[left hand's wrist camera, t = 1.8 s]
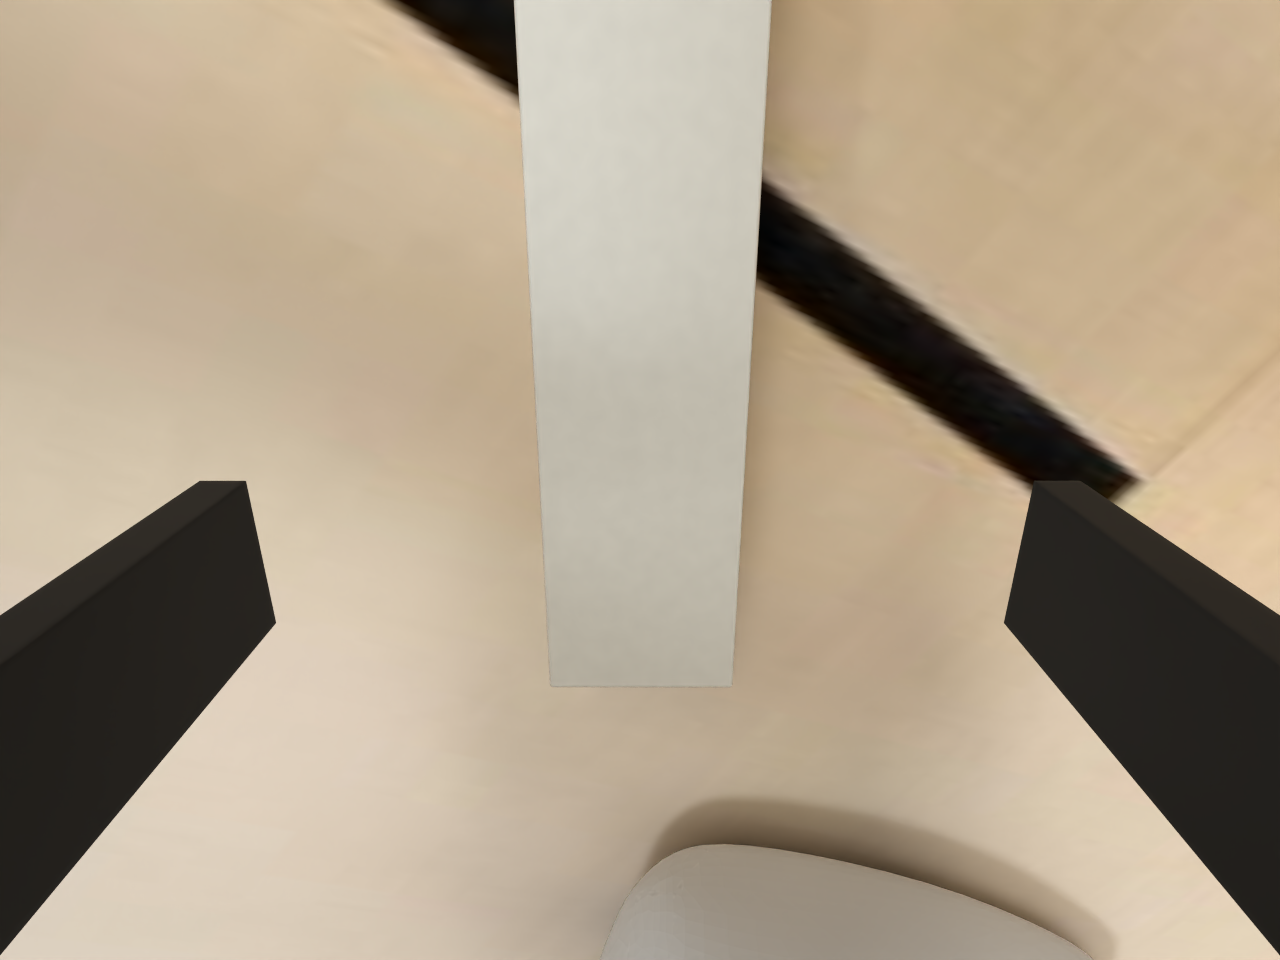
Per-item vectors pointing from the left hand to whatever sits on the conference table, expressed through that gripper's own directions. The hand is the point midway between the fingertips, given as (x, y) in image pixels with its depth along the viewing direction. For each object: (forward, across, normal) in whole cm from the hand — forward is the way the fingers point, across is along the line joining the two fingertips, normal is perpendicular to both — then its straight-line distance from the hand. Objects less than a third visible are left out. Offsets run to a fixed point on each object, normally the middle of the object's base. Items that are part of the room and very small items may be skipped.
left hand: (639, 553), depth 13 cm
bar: (+13, 0, -31) cm, 33 cm away
